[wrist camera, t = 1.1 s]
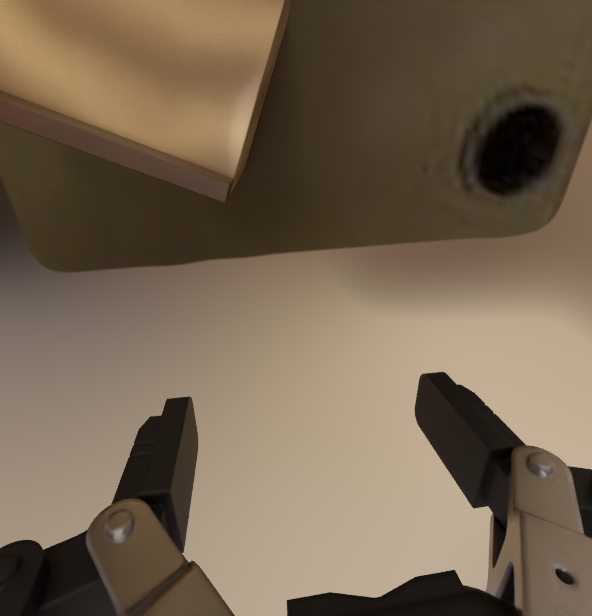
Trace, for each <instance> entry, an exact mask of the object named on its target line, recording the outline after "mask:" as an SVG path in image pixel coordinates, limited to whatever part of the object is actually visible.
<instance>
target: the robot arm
mask: <svg viewBox="0 0 592 616" xmlns="http://www.w3.org/2000/svg"><path fill="white" fill-rule="evenodd" d="M415 416H416V420H417V423H418V425H419V427H420V428H421V430H422V431H423V433H424V434H425V436H426V437H427V439H428V440H429V442H430V444H431V445H432V447H433V448H434V450H435V451H436V453H437V454H438V456H439V457H440V459H441V460H442V462H443V463H444V465H445V466H446V468H447V469H448V471H449V472H450V474H451V475H452V477H453V478H454V480H455V481H456V483H457V484H458V486H459V487H460V489H461V490H462V492H463V493H464V495H465V496H466V498H467V500H468V501H469V503H470V504H471V506H472V507H473V508H479V507H486V506H489V508H490V509H491V511H492V512H493V513H492V516H491V521H490V545H489V546H490V547H489V569H488V583H487V589H486V592H485V591H482V590H480V589H477V588H473V587H469V586H464V585H462V583H461V581H460V579H459V577H458V575H457V573H456V572H455V570H451V571H446V572H441V573H435V574H429V575H424V576H418V577H415V578H413V579H411V580H409V581H408V582H406V583H404V584H402V585H401V586H399V587H397V588H395V589H393V590H392V591H390V592H388V593H386V594H385V595H383V596H381V597H378V598H371V597H363V596H355V595H347V594H339V593H331V592H330V593H325V594H319V595H313V596H308V597H302V598H297V599H291V600H287V616H592V470H591V469H584V468H577V467H569V466H567V465H566V464H565V463H564V462H563V461H562V460H561V459H560V458H558V457H557V456H555V455H554V454H552V453H550V452H548V451H546V450H544V449H541V448H538V447H534V446H526V445H525V444H524V443H523V442H522V441H521V440H520V439H519V437H517V435H515V433H513V432H512V430H511V429H510V428H509V427H508V426H507V425H506V424H505V423H504V422H503V421H502V420H501V419H500V418H499V417H498V416H497V415H496V414H494V413H493V411H492V410H491V409H490V408H489V407H488V406H485V403H484V402H483V401H482V400H481V399H480V398H479V397H478V396H477V395H476V394H475V393H474V392H472V391H470V390H469V389H467V388H465V387H464V386H462V385H457V384H456V383H455V382H453V380H452V379H451V378H450V377H449V376H448V375H447V374H446V373H444V372H437V373H427V374H422V375H421V376H420V379H419V385H418V391H417V398H416V404H415ZM197 453H198V432H197V426H196V420H195V414H194V408H193V402H192V398H191V397H181V398H172V399H167V400H166V403H165V406H164V410H163V413H162V416H153V417H150V418H149V419H148V420H147V421H146V422H145V423H144V425H142V427H141V428H140V429H139V431H138V434H137V436H136V439H135V442H134V446H133V448H132V450H131V453H130V457H129V458H128V461H127V464H126V467H125V469H124V472H123V475H122V477H121V480H120V483H119V486H118V489H117V491H116V494H115V496H114V499H113V502H112V504H111V505H110V506H108V507H107V508H105V509H104V510H103V511H102V512H101V513H99V514H98V516H97V517H96V518H95V519H94V520H93V522H92V523H91V525H90V527H89V528H88V530H86V531H85V532H83V533H81V534H79V535H77V536H75V537H73V538H71V539H68V540H66V541H63V542H61V543H58V544H56V545H54V546H51V547H49V548H47V549H44V550H43V549H42V547H41V546H40V544H39V543H37V542H35V541H32V540H22V541H17V542H13V543H10V544H8V545H6V546H4V547H2V548H0V616H234V614H233V613H232V611H231V610H230V609H229V607H228V606H227V604H226V603H225V602H224V600H223V599H222V598H221V596H220V594H219V593H218V592H217V590H216V589H215V587H214V586H213V585H212V583H211V582H210V581H209V579H208V578H207V576H206V575H205V574H204V572H203V571H202V569H201V568H200V567H199V566H198V565H197V564H196V563H195V562H194V561H191V562H190V563H189V562H188V561H187V560H186V559H185V557H184V556H183V555H182V553H183V552H184V546H185V539H186V532H187V524H188V518H189V510H190V503H191V496H192V489H193V482H194V475H195V468H196V461H197Z"/></svg>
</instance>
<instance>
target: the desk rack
mask: <svg viewBox="0 0 592 616" xmlns="http://www.w3.org/2000/svg"><path fill="white" fill-rule="evenodd" d="M290 1H291V0H0V122H2V123H5V124H8V125H10V126H13V127H16V128H19V129H21V130H24V131H27V132H30V133H33V134H35V135H38V136H41V137H44V138H46V139H49V140H52V141H55V142H57V143H60V144H63V145H66V146H68V147H71V148H74V149H77V150H80V151H82V152H85V153H88V154H91V155H93V156H96V157H99V158H102V159H104V160H107V161H110V162H113V163H115V164H118V165H121V166H124V167H127V168H129V169H132V170H135V171H138V172H140V173H143V174H146V175H149V176H151V177H154V178H157V179H160V180H162V181H165V182H168V183H171V184H174V185H176V186H179V187H182V188H185V189H187V190H190V191H193V192H196V193H198V194H201V195H204V196H207V197H209V198H212V199H215V200H218V201H221V202H223V203H225V202H226V200H227V199H228V197H229V195H230V194H231V192H232V190H233V188H234V186H235V185H236V183H237V181H238V180H239V178H240V176H241V174H242V173H243V171H244V169H245V165H246V162H247V158H248V155H249V152H250V148H251V145H252V141H253V138H254V134H255V131H256V128H257V124H258V121H259V117H260V114H261V111H262V107H263V104H264V100H265V97H266V93H267V90H268V87H269V83H270V80H271V76H272V73H273V70H274V66H275V63H276V59H277V56H278V52H279V49H280V46H281V42H282V39H283V35H284V32H285V29H286V25H287V20H288V14H289V7H290Z"/></svg>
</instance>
